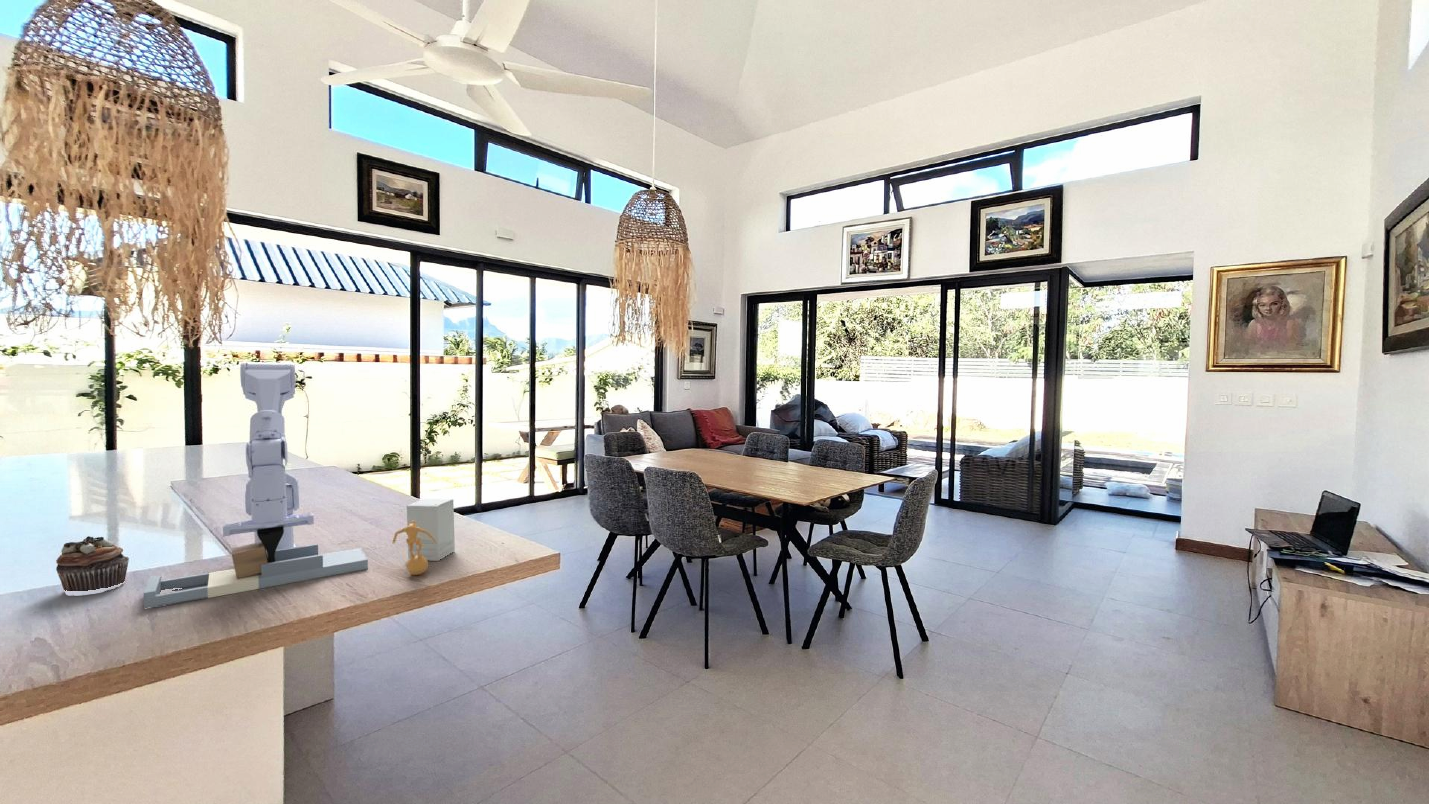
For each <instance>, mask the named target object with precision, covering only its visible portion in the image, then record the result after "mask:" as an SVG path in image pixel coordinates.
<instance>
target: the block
mask: <svg viewBox="0 0 1429 804" xmlns="http://www.w3.org/2000/svg"><path fill="white" fill-rule="evenodd" d="M231 557H232V558H231V559H232V562H233V566H234V569H235V572H236V577H237V579H239V578H243V577H247V576H251V575H254V574H258V573H261V564H265V563H268V557H267V552H266V549H265V547H264V545H263V543H262V542H257V543H255V542H253V543H249V544H245V545H242V546H241V545H240V546H237V547H233V548H232V551H231Z"/></svg>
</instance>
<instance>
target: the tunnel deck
mask: <svg viewBox="0 0 1429 804" xmlns="http://www.w3.org/2000/svg"><path fill="white" fill-rule="evenodd" d="M266 552H267V551H266ZM267 557H268V553H267ZM368 565H369V562H368V558H367V556H366V555H365V553H364V551H363V550H362V548H361V547H357V548H352V549H345V550H340V551H333V552H327V553H320V554H319V544H318V543H314V544H313V543H312V544H306V545H301V546H296V547H292V548H285V549H279V550H276V552H275V562H271V563H265V564H261V573H258V574H254V575H251V576H247V577H243V578H239V579H237V577H236V572H235V568H231V569H224V570H218V571H212V572H210V571H209V572H203V573H196V574H192V575H186V576H180V577H174V578H167V579H166V578H165V579H162V574H160V575H155V576H154V575H152V576H149V579H148V581H147V584H146V587H145V589H144V591H143V606H144V607H143V608H148V607H156V606H161V607H164V606H163V605H167V606H170V605H169V604H172V605H177V604H176V603H178V604H182V603H189V602H192V601H198V600H204V599H205V600H206V599H210V598H214V597H220V596H221V597H222V596H226V595H227V596H228V595H231V594H236V593H237V594H238V593H242V592H248V591H253V590H254V591H255V590H257V589H258V590H259V589H265V588H268V587H269V588H271V587H275V586H281V585H285V584H291V583H296V582H297V583H298V582H303V581H308V580H313V579H318V578H319V579H320V578H324V577H325V578H326V577H330V576H335V575H340V574H346V573H350V572H351V573H352V572H357V571H362V570H367V569H369V566H368ZM173 588H182V589H179V590H178V589H175V590H172V591H175V592H170V593H164V594H160V592H161V590H165V589H173ZM156 608H157V607H156Z"/></svg>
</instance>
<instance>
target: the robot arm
mask: <svg viewBox="0 0 1429 804" xmlns="http://www.w3.org/2000/svg"><path fill="white" fill-rule="evenodd" d="M239 370H240V371H239V374H240V387H241V388H242V394H243V395H244V396H245V399H246V400H249V401H252V402H255V404H256V410H257V412H256V413H253V414H252V415H251V417H250V419H249V420H250V421H249V442H247V443H246V445H245V461H246V463H245V464H246V467H247V471H248V478H249V480H248V481H247V483H246V484H245V492H244V493H245V494H244V504H245V505H244V507H245V514H247V515H248V516H251V519H250V520H246V521H245V520H244V521H240V522H235V523H228V524H223V525H222V537H230V536H231V535H239V534H247V533H254V534H253V535H254V543H257V542H262V543H263V545H264V547H265V549H266V551H267V553H268V563H271V562H275V552H276V550H279V549H285V548H292V547H297V545H296V542H295V541H294V540H295V539H294V537H295V535H294V527H300V526H306V525H307V526H310V525H311V526H312V525H315V524H314V523H315V519H314V516H315V515H314V514H313V513H307V514H305V513H304V514H294V511H295V512H296V511H298V509H300V491H299V489H300V487H299V479H297V477H296V476H295V475H293V474H291V473H290V472H287V471H286V467H287V465H288V458H289V457H288V443H287V439H286V435H285V431H286V430H285V417H284V416H283V408H284V405H285V403H286V401H289V400H291V399H294V398H295V396H294V395H295V394H296V365H295V364H294V363H293V362H292V361H290V362H257V361H256V362H252V361H251V362H247V361H243V362H242V363H241V364H240V369H239ZM284 464H285V465H284Z"/></svg>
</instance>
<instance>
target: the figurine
mask: <svg viewBox="0 0 1429 804" xmlns="http://www.w3.org/2000/svg"><path fill="white" fill-rule="evenodd" d="M418 531H419V532H422V533H426V534H427V535H428V536H429V537H430V538H432V539H433V540H434V542H435V539H434V538H433V536H432V535H430V534H429V532H427V531H425V530H423V529H421V528H419V527H417V526H416V522H415V521H414V520H413V521H411V523H410V524H409V525H408V526H406V527H403V528H402V529H399V530H398V531H396V532H395V533H394V537H393V539H392V544H395V543H397V542H396V541H397V536H398V535H399V534H402V533H406V535H407V538H406V543H407V546H408V545H409V546H410V549H409V552H410V555H411V558H410V559H409V558H408V561H407V563H406V570H407V572H408V573H409V574H411V575H414V576H418V575H419V576H420V575H421V574H424V573H425V572H426V571H427V569H428V566H429V562H428V561H429V560H427V559H426V558H425V557H423V556H422V555H420V551H421V547H422V543H421V541H420V540H421V539H420V538H418V539H417V534H418ZM408 537H409V538H408ZM414 542H416V545H418V546H419V548H418V549H417V554H418V555H417V556H415V555H413V553H412V551H413V544H414ZM435 543H436V542H435Z"/></svg>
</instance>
